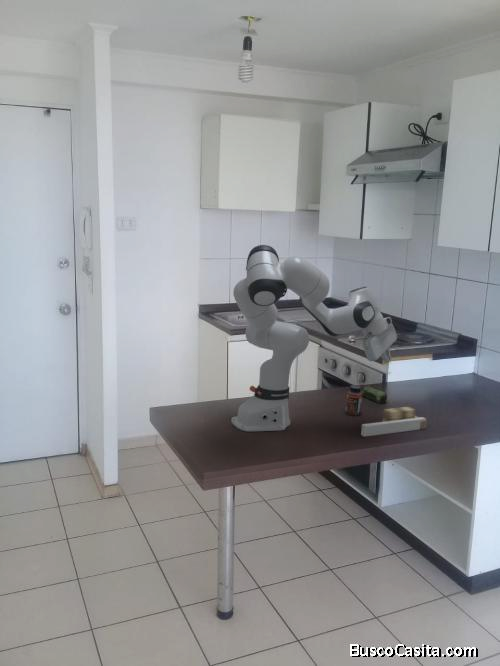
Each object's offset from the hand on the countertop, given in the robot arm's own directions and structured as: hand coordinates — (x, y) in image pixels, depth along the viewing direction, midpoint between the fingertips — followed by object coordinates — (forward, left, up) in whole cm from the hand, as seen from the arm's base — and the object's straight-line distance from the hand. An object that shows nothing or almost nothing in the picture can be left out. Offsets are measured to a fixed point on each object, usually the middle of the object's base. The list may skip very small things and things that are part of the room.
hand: (388, 361), depth 226 cm
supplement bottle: (-1, +18, -26) cm, 32 cm away
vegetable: (+19, +31, -26) cm, 45 cm away
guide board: (+2, 0, -26) cm, 26 cm away
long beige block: (+7, -1, -26) cm, 27 cm away
